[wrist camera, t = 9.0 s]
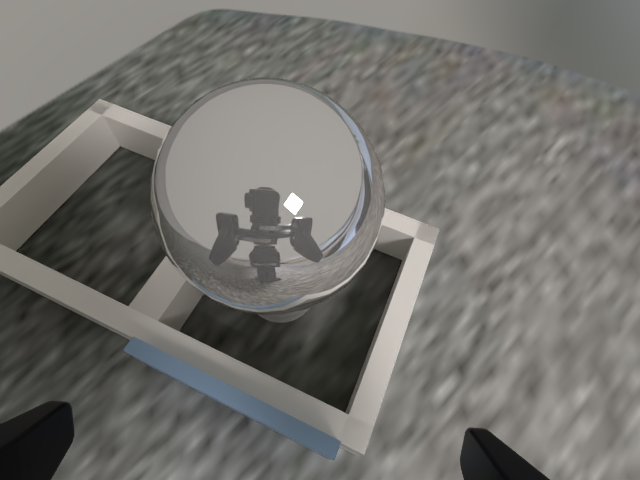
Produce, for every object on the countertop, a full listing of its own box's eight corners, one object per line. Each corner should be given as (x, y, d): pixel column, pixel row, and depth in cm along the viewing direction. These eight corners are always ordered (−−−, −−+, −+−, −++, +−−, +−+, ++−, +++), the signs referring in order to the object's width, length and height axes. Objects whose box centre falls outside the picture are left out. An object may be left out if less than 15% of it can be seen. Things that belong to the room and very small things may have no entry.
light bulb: (189, 348, 17) (27, 191, 7) (240, 226, 21) (183, 1, 10) (333, 387, 17) (390, 281, 6) (362, 256, 20) (429, 49, 10)
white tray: (350, 470, 15) (362, 474, 12) (-30, 273, 19) (-94, 239, 16) (425, 252, 21) (446, 218, 18) (117, 130, 24) (91, 84, 21)
